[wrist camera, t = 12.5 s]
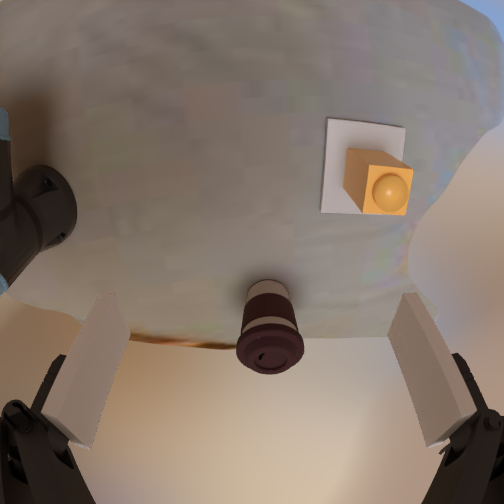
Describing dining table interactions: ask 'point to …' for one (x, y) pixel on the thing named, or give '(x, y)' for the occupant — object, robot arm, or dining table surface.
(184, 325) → the dining table surface
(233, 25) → the dining table surface
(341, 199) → the white pegged board
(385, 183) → the orange toy brick
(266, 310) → the coffee cup
